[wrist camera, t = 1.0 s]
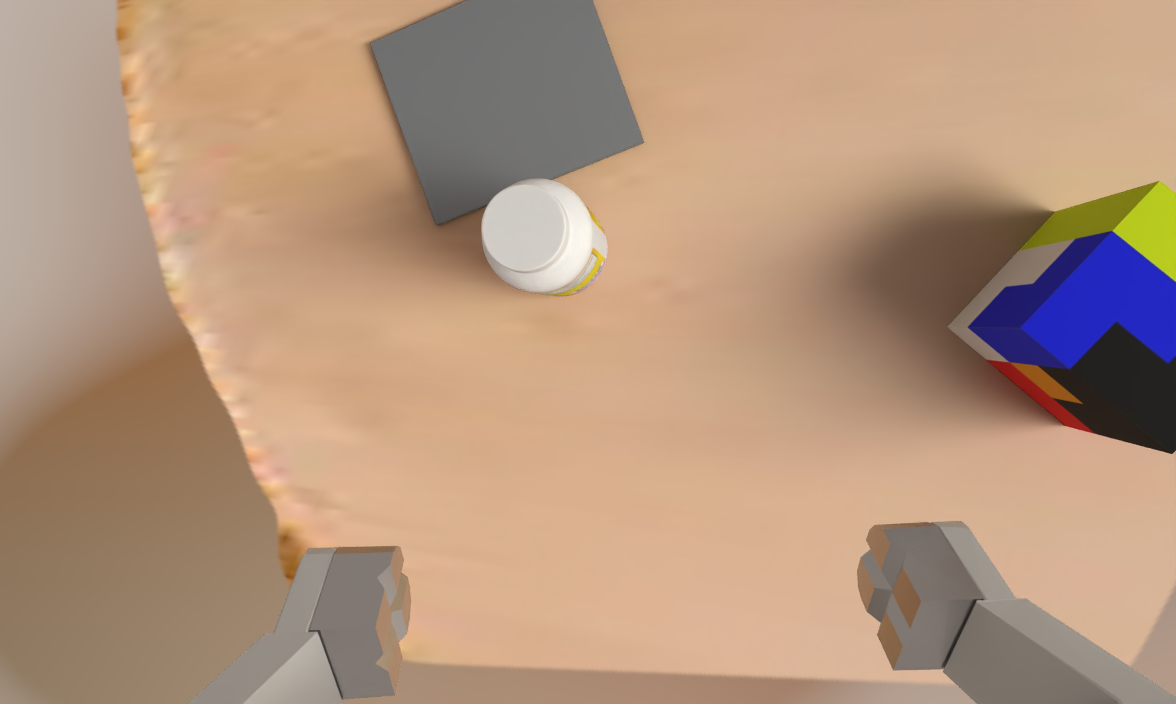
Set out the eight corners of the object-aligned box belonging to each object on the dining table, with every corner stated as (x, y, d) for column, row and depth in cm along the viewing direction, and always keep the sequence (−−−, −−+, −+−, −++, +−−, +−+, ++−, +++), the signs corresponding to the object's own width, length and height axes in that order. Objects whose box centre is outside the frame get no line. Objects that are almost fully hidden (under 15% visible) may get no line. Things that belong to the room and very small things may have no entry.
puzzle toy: (946, 327, 47) (1019, 328, 37) (1054, 211, 45) (1160, 180, 36) (1064, 425, 46) (1172, 454, 36) (1177, 311, 45) (1320, 307, 35)
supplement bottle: (518, 203, 50) (464, 162, 37) (610, 204, 49) (586, 162, 36) (516, 296, 50) (461, 287, 37) (606, 299, 49) (582, 290, 37)
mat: (643, 142, 48) (643, 141, 48) (437, 225, 51) (435, 224, 50) (576, -45, 49) (575, -48, 48) (373, 46, 51) (370, 43, 50)
